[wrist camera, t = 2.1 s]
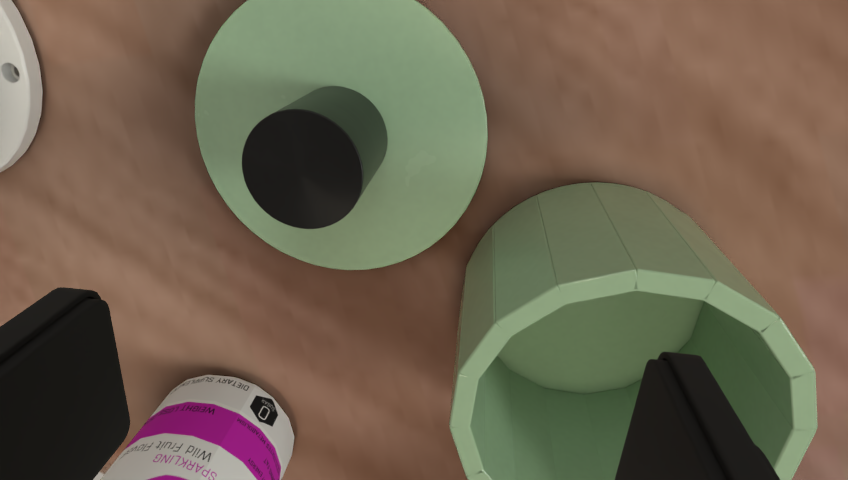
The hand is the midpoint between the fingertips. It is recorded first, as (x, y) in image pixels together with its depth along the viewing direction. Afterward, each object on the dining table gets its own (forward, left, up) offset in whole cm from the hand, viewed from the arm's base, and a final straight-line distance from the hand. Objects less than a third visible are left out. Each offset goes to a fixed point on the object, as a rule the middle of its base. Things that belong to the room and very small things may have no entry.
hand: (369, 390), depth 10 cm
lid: (-5, 0, -18) cm, 18 cm away
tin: (+8, -7, -18) cm, 21 cm away
